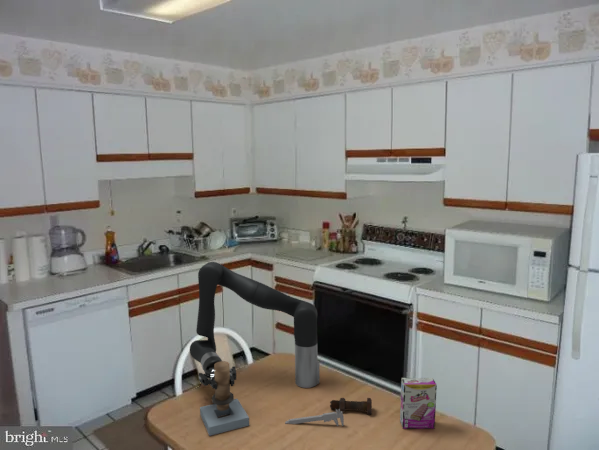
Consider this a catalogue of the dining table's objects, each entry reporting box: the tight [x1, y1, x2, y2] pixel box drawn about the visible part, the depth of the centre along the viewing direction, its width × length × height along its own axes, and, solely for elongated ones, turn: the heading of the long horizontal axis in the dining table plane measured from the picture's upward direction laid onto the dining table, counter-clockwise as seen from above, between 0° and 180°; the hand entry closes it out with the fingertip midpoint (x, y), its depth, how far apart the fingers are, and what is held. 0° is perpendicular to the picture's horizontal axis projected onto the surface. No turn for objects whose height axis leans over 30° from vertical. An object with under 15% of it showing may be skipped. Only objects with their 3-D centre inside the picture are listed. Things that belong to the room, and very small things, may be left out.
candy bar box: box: [399, 377, 438, 430], centre depth 154 cm, size 11×5×16 cm, turn 89°
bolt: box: [329, 397, 373, 416], centre depth 165 cm, size 6×5×15 cm
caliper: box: [284, 409, 345, 427], centre depth 156 cm, size 20×1×6 cm, turn 84°
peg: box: [211, 360, 235, 411], centre depth 158 cm, size 8×8×16 cm
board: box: [199, 398, 250, 436], centre depth 160 cm, size 14×14×3 cm
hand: (224, 385), depth 156 cm, fingers closed on peg, 5 cm apart
